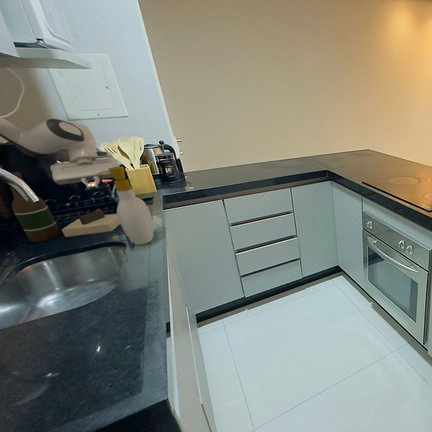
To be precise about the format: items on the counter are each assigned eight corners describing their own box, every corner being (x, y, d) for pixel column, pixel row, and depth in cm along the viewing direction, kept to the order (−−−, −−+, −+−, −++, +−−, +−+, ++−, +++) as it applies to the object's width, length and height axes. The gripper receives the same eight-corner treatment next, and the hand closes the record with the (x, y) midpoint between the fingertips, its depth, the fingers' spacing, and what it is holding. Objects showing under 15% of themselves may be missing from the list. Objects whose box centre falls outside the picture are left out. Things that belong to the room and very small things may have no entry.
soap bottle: (128, 236, 106) (99, 165, 96) (159, 229, 111) (134, 161, 100) (123, 252, 95) (89, 174, 85) (157, 245, 100) (129, 169, 89)
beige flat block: (65, 237, 106) (61, 229, 105) (83, 224, 116) (79, 217, 115) (111, 231, 110) (108, 223, 109) (125, 219, 120) (122, 212, 119)
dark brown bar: (84, 224, 109) (81, 216, 107) (82, 224, 109) (78, 216, 108) (105, 217, 115) (101, 209, 113) (102, 216, 115) (98, 209, 114)
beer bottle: (28, 239, 105) (-9, 174, 96) (58, 230, 111) (26, 168, 102) (33, 244, 101) (-6, 177, 92) (64, 235, 107) (31, 171, 97)
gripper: (45, 158, 112) (52, 189, 109) (115, 151, 123) (122, 179, 120) (53, 168, 117) (60, 197, 114) (119, 160, 128) (127, 186, 125)
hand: (92, 188), depth 117 cm, fingers closed
